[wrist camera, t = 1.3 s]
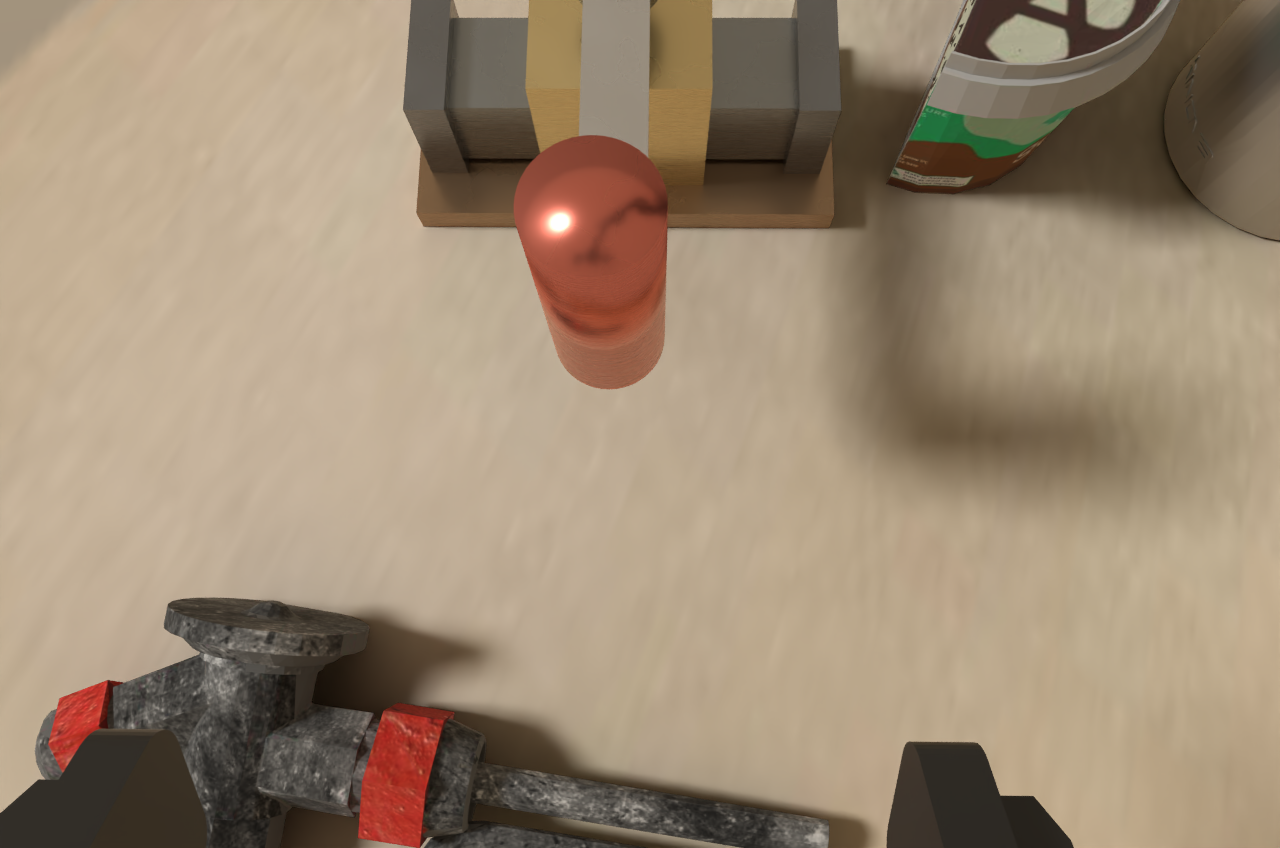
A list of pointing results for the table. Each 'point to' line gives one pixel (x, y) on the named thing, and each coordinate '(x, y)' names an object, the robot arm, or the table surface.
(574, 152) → the lever
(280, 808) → the valve
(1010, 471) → the table surface
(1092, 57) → the food container
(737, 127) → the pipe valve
